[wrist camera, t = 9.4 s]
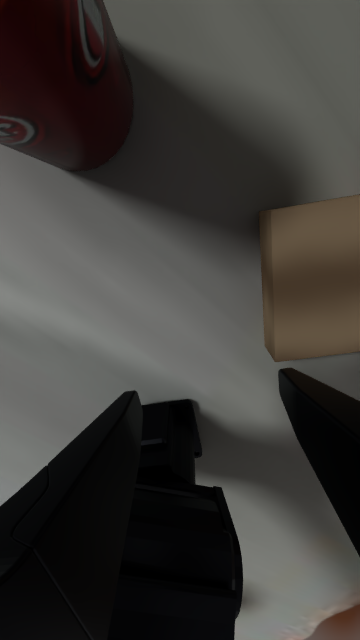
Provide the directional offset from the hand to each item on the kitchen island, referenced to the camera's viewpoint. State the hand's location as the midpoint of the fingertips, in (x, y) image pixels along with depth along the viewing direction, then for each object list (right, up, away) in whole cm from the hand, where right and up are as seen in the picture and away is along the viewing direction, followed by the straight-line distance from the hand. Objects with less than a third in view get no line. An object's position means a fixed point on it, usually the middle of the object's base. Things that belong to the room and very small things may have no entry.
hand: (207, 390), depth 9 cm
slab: (+11, +6, +10) cm, 16 cm away
